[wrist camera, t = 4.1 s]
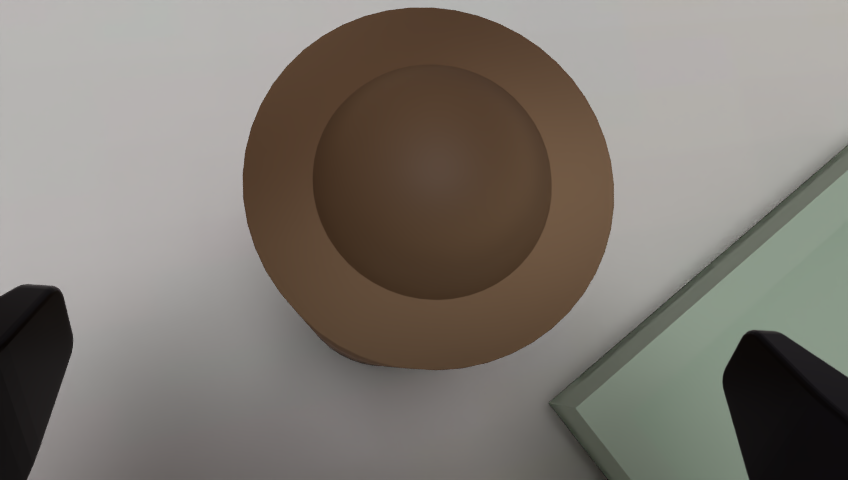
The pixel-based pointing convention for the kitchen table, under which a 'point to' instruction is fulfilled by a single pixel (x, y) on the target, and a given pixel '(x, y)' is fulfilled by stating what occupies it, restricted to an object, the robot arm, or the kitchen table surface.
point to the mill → (427, 189)
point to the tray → (717, 342)
